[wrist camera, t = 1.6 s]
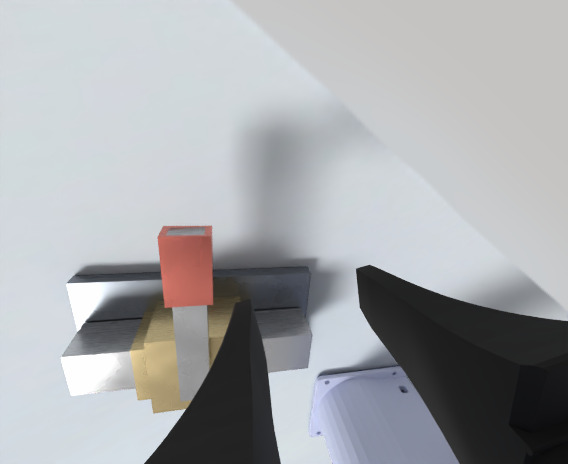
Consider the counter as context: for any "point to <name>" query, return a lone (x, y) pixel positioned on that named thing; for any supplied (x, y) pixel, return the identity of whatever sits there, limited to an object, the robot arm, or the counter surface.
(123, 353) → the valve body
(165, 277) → the valve lever
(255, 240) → the counter surface
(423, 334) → the robot arm
